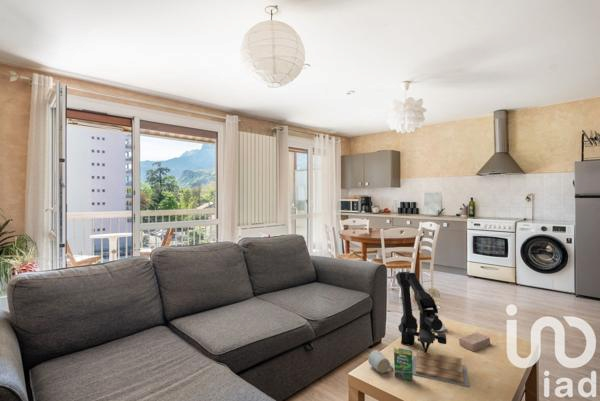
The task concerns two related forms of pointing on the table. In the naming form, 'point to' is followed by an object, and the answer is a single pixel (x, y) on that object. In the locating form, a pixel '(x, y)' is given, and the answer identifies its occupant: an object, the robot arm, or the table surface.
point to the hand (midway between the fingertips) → (425, 352)
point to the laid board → (440, 373)
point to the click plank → (439, 361)
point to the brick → (474, 341)
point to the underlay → (442, 379)
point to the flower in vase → (436, 294)
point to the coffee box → (403, 363)
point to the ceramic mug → (379, 361)
